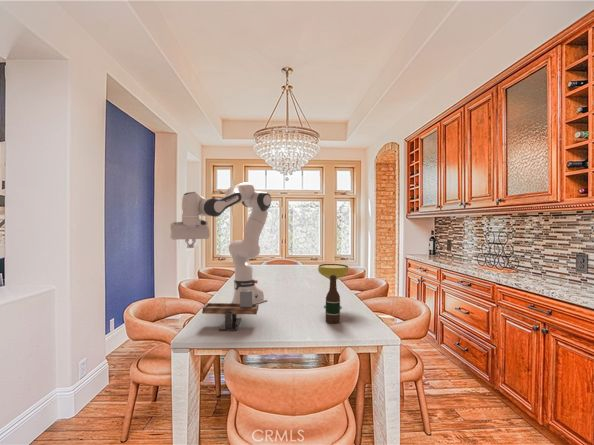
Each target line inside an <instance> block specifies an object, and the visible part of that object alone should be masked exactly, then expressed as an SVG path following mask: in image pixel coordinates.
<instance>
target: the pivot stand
mask: <svg viewBox="0 0 594 445" xmlns="http://www.w3.org/2000/svg"><path fill="white" fill-rule="evenodd" d="M237 316H238V314H232V312H226V313H225V314H224V320H223V322H222V324H221V326H220V327H219V329H218V330H219V331H218V332H237V330H238V329H239V327H240V324H241V322H242V319H243V318H242V317H237Z"/></svg>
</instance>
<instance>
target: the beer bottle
mask: <svg viewBox="0 0 594 445" xmlns="http://www.w3.org/2000/svg"><path fill="white" fill-rule="evenodd" d="M336 278H337V277H336V275H330V279H329V288H328V292H327V293H326V296H325V305H326V308H325V322H326V323H327V324H339V323H340V320H341V309H340V306H341V296H340V293H339V292H338V289H337V280H336Z"/></svg>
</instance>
